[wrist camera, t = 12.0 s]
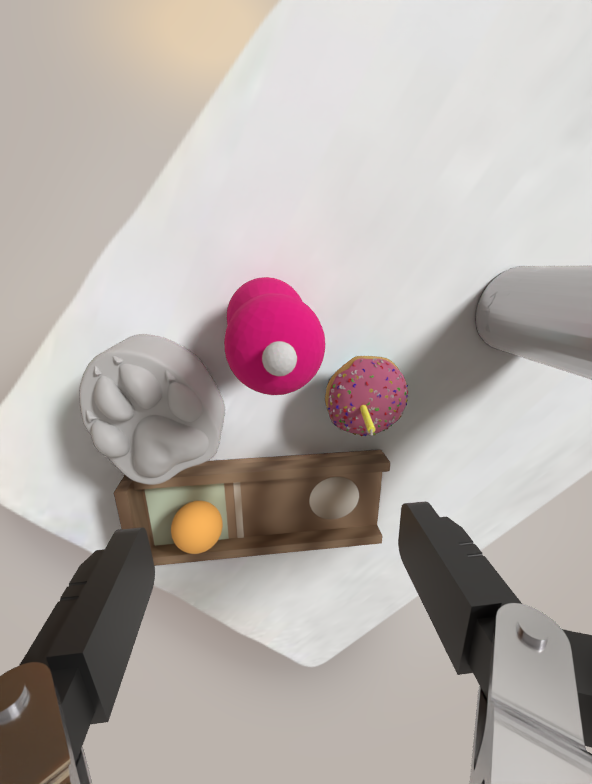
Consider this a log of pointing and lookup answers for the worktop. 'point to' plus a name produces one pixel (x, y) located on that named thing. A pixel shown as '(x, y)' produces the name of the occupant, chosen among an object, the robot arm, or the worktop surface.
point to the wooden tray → (264, 504)
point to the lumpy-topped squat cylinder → (151, 408)
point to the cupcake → (366, 395)
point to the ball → (196, 527)
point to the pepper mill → (272, 337)
